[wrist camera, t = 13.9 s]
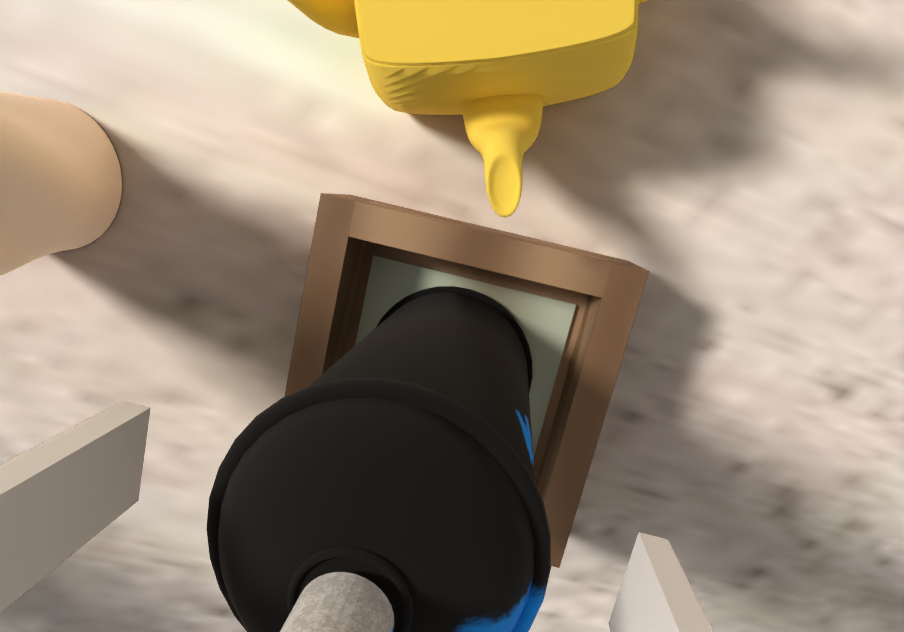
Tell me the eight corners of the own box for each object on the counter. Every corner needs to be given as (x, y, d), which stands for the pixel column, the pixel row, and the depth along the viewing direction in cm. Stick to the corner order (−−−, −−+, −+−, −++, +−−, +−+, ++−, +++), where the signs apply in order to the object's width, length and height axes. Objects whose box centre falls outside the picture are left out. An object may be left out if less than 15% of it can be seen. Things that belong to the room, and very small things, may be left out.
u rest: (301, 450, 32) (267, 489, 28) (350, 194, 29) (321, 193, 25) (553, 516, 31) (559, 568, 27) (628, 260, 29) (648, 271, 24)
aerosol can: (335, 378, 30) (-3, 703, 10) (433, 250, 28) (246, 350, 9) (463, 477, 30) (366, 975, 11) (567, 356, 28) (680, 685, 9)
